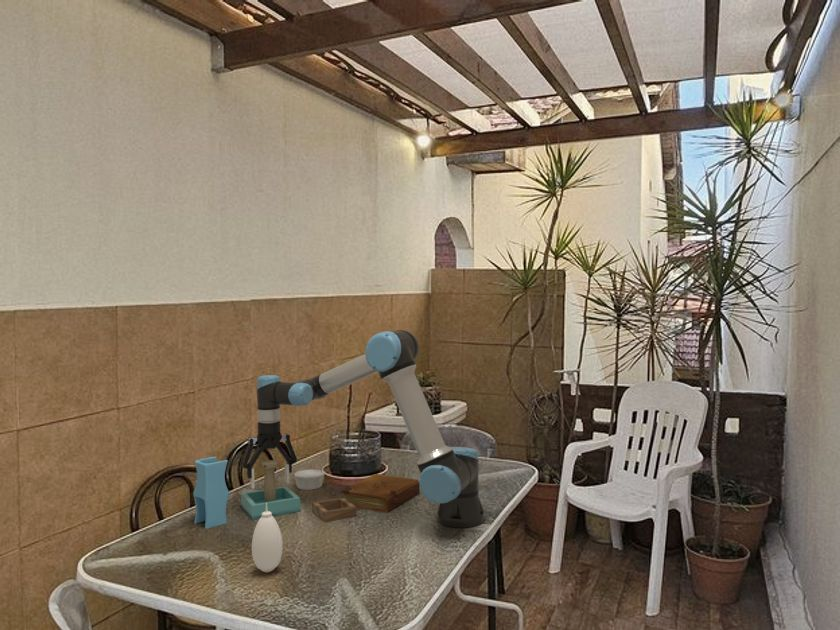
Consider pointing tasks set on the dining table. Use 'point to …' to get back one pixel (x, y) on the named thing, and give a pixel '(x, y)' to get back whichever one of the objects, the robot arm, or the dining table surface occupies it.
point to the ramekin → (309, 479)
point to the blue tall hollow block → (211, 492)
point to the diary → (381, 492)
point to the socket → (336, 514)
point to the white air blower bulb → (267, 543)
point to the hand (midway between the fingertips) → (269, 485)
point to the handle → (269, 479)
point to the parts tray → (270, 503)
